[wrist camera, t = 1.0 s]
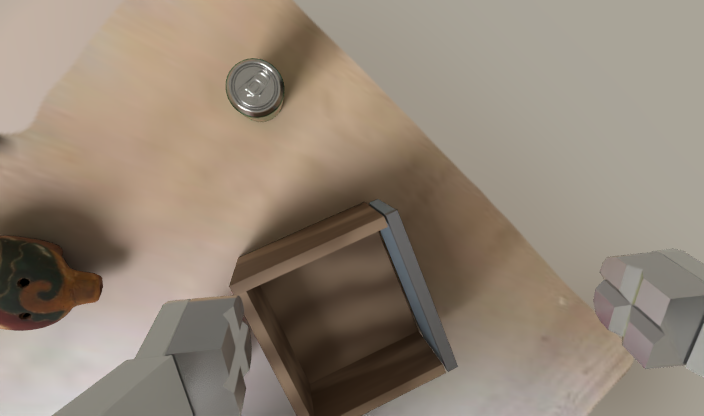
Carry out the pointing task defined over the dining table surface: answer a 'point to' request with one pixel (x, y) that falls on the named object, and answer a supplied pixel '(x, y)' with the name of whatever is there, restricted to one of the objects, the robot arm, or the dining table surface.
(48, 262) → the decorative turtle
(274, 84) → the soda can
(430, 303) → the panel
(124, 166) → the dining table surface
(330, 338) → the box
